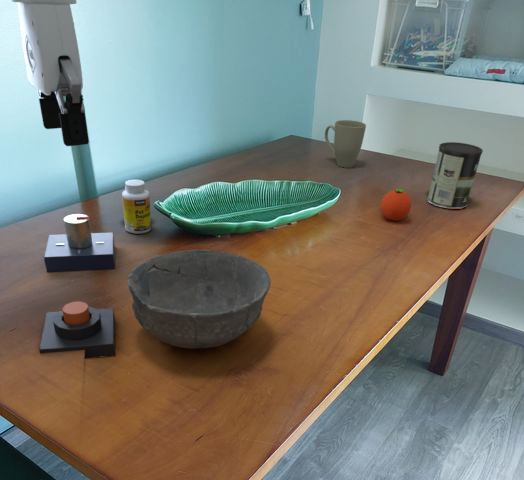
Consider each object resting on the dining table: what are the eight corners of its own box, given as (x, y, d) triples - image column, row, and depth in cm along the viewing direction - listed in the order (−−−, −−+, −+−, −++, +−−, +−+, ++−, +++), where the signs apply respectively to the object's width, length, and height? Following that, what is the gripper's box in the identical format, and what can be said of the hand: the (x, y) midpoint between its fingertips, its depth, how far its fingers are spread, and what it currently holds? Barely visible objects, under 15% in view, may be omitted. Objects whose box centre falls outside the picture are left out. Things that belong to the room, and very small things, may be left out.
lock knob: (67, 249, 98) (62, 221, 95) (68, 239, 102) (64, 212, 99) (92, 248, 99) (88, 221, 96) (92, 238, 103) (89, 212, 100)
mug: (355, 160, 167) (362, 120, 160) (362, 170, 159) (369, 128, 152) (321, 159, 166) (326, 118, 159) (326, 169, 158) (331, 126, 151)
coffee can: (464, 198, 143) (479, 144, 135) (469, 212, 135) (486, 155, 126) (425, 194, 144) (437, 140, 136) (428, 207, 136) (441, 150, 128)
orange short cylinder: (63, 327, 77) (61, 314, 75) (65, 314, 79) (63, 302, 78) (89, 325, 77) (87, 313, 76) (90, 312, 80) (88, 300, 79)
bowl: (265, 302, 92) (268, 249, 87) (268, 376, 76) (273, 316, 70) (144, 298, 91) (139, 244, 86) (120, 372, 75) (113, 311, 69)
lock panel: (46, 272, 97) (43, 256, 95) (51, 248, 105) (49, 233, 103) (114, 268, 100) (113, 253, 98) (114, 246, 108) (113, 231, 106)
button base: (42, 362, 75) (36, 338, 73) (48, 324, 83) (44, 302, 81) (115, 356, 78) (112, 333, 75) (114, 319, 85) (112, 298, 83)
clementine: (383, 210, 132) (389, 182, 128) (411, 216, 130) (418, 187, 126) (375, 221, 126) (380, 191, 122) (404, 227, 124) (410, 197, 120)
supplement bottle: (136, 237, 112) (132, 188, 106) (120, 229, 115) (114, 181, 109) (157, 230, 115) (154, 182, 109) (140, 222, 118) (137, 176, 112)
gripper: (-6, -17, 69) (22, 124, 79) (27, -9, 57) (56, 155, 67) (53, -15, 72) (73, 120, 82) (96, -7, 61) (113, 149, 70)
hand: (65, 135), depth 75 cm, fingers open, 9 cm apart
